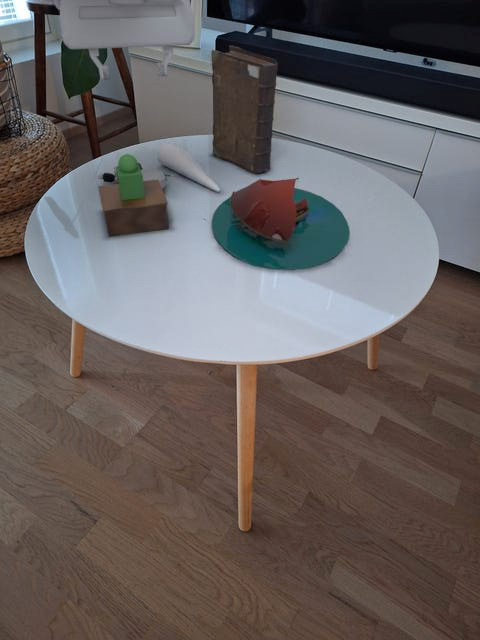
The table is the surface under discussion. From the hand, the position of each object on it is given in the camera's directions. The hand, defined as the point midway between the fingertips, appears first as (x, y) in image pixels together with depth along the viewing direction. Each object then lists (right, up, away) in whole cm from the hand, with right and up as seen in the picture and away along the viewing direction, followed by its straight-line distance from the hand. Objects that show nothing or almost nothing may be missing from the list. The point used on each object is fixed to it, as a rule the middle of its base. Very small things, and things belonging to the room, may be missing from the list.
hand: (134, 77), depth 76 cm
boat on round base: (+26, -22, +19) cm, 39 cm away
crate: (-4, -19, +20) cm, 28 cm away
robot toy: (-7, -10, +30) cm, 33 cm away
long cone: (+5, -7, +35) cm, 36 cm away
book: (+18, 0, +43) cm, 46 cm away
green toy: (-4, -15, +16) cm, 22 cm away
